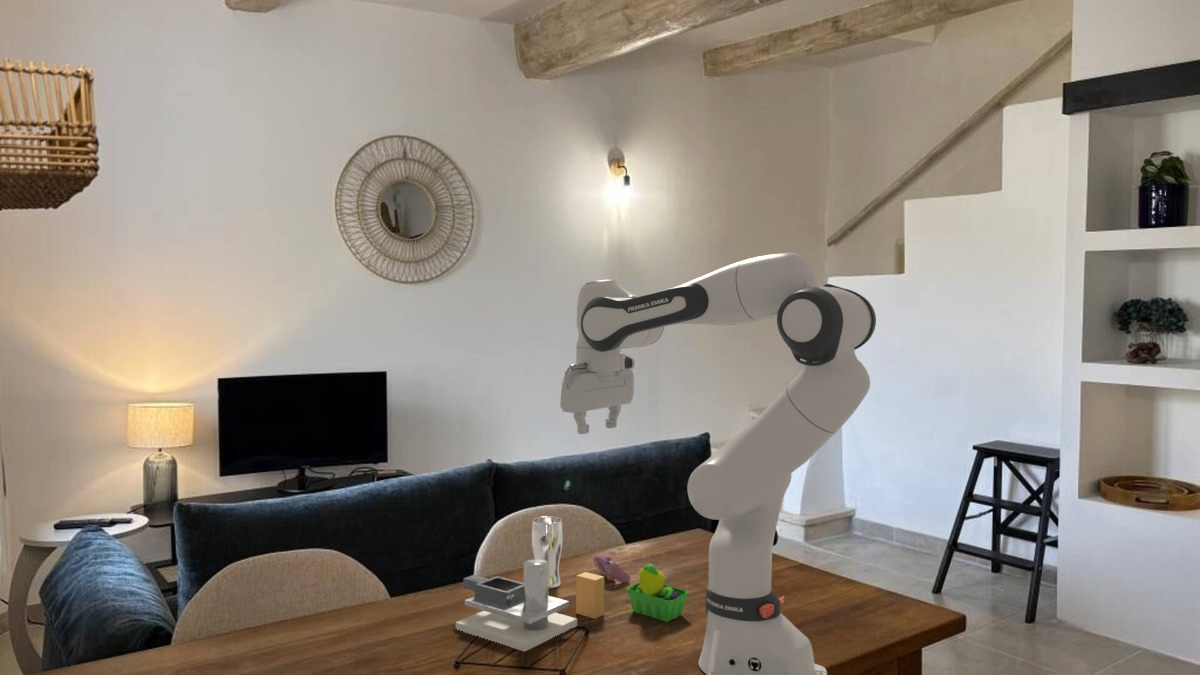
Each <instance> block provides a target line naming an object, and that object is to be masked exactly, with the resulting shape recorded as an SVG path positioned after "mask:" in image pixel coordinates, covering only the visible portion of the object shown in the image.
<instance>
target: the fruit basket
mask: <svg viewBox="0 0 1200 675" xmlns="http://www.w3.org/2000/svg"><path fill="white" fill-rule="evenodd" d="M665 581H666V576H665V575H664V573H663V572H662V571H660V570H659V569H657V568H656V566H655V565H654V564H652V563H647V564H646V565H644V566H643V567H642V568H641V569H640V570H639V580H638V582H637V583H635V584H633V585H630V586H628V587H626V592H627V594H628V596H629V601H630V603H631V610H632V611H633V613H637V614H641V615H644V616H647V617H650V618H653V619H655V620H660V621H663V622H666V623H668V621H669V622H670V621H672V619H673V620H675V619H677V618H678V617H681V616H682V614H683V611H684V606H685V603H686V599H687V597H688V595H689V591H688V590H687V589H682V588H678V587H675V586H671V585H667V584H665ZM680 615H681V616H680ZM674 618H675V619H674Z"/></svg>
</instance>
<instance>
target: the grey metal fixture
mask: <svg viewBox="0 0 1200 675" xmlns="http://www.w3.org/2000/svg"><path fill="white" fill-rule="evenodd" d="M462 582H463V585H462V586H463V587H462V588H463V589H466V590H469V591H472V592H474V596H472V597H469V598H466V599H464V606H467V607H470V608H474V609H476V610H481V611H487V612H490V613H494V614H497V615H500V616H504V617H507V618H511V619H514V620H517V621H521V622H524V628H525V629H527V630H532V631H539V630H544V629H546V628H547V627H548V616H549V615H551V614H553V613H558V612H560V611H562V610H564V609H566V608H568V607H570V601H569V600H566V599H562V598H559V597H555V596H551V595H549V589H548V562H547V561H545V560H539V559H527V560H525V561H524V562H523V582H522V581H517V580H515V579H511V578H506V577H502V576H499V575H497V576H493V577H491V578H487V577H484V576H479V575H477V574H472V575H470V576H467V577H464V578H463V581H462Z"/></svg>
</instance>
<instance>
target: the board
mask: <svg viewBox="0 0 1200 675" xmlns="http://www.w3.org/2000/svg"><path fill="white" fill-rule="evenodd" d="M576 627H578V618H576V617H574V616H573V617H572V616H569V615H566V614H562V613H558V612H555V613H553V614H551V615H549V616H548V627H547V628H546V629H544V630H539V631H532V630H527V629H525V628H524V622H521V621H517V620H514V619H511V618H507V617H504V616H500V615H497V614H494V613H490V612H487V611H483V610H481V611H480V612H477V613H475V614H472V615H470V616H467V617H464V618H462V619H459V620H458V621H456V622H455V630H456V629H457V630H456V631H458V630H460V631H459V632H461V631H463V632H462V633H466V634H468V633H469V634H468V635H471V634H472V635H471V636H474V635H475V636H474V637H477V636H479V637H478V638H480V637H481V639H483V638H485V639H484V640H487V639H488V640H487V641H490V640H491V641H490V642H493V641H494V642H493V643H496V642H497V644H499V643H500V644H499V645H502V644H503V645H502V646H505V645H506V646H505V647H508V646H509V647H508V648H511V649H512V648H513V649H514V650H518V651H521V652H526V651H529V650H532V649H533V648H536V647H537V646H539V645H542V644H543V643H545V642H547V641H550V640H552V639H554V638H555V636H556V637H557V635H558V636H560V635H561V633H562V634H564V633H566V632H568V631H570V630H572V629H574V628H576ZM571 628H572V629H571ZM569 629H570V630H569ZM553 637H554V638H553Z"/></svg>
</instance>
